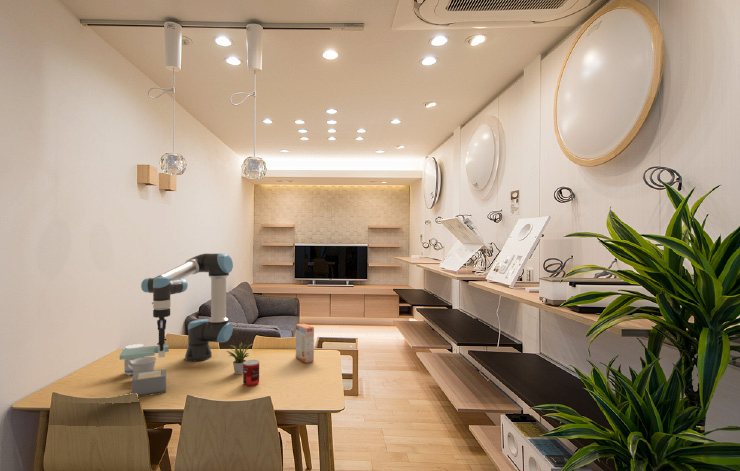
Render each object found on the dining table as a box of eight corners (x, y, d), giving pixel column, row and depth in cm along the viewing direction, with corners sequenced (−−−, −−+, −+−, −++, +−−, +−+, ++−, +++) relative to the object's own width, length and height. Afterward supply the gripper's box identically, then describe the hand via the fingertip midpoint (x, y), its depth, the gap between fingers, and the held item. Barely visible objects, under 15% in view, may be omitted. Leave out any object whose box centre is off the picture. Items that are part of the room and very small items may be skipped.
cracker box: (314, 361, 233) (314, 327, 233) (305, 363, 230) (305, 328, 230) (304, 355, 245) (304, 322, 245) (295, 357, 241) (295, 323, 241)
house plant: (247, 365, 226) (247, 337, 226) (259, 371, 216) (259, 342, 216) (223, 371, 216) (223, 342, 216) (234, 378, 206) (234, 347, 206)
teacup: (134, 374, 211) (134, 356, 211) (161, 375, 210) (161, 356, 210) (119, 383, 199) (119, 363, 199) (147, 383, 198) (148, 364, 198)
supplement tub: (145, 373, 213) (145, 346, 213) (124, 377, 208) (124, 349, 208) (143, 368, 221) (143, 342, 221) (124, 371, 216) (124, 345, 216)
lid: (168, 347, 198) (168, 342, 198) (168, 353, 187) (168, 348, 187) (122, 352, 189) (122, 347, 189) (119, 359, 178) (119, 354, 178)
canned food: (245, 380, 202) (245, 359, 202) (260, 380, 203) (260, 359, 203) (241, 386, 195) (241, 364, 195) (257, 386, 195) (257, 364, 195)
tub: (166, 384, 197) (166, 369, 197) (165, 392, 187) (165, 376, 187) (133, 389, 191) (134, 373, 191) (131, 397, 181) (131, 380, 181)
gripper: (153, 306, 197) (153, 352, 197) (152, 312, 182) (152, 362, 182) (170, 305, 201) (170, 350, 201) (170, 310, 185) (170, 359, 185)
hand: (161, 355), depth 191 cm, fingers closed on lid, 4 cm apart
